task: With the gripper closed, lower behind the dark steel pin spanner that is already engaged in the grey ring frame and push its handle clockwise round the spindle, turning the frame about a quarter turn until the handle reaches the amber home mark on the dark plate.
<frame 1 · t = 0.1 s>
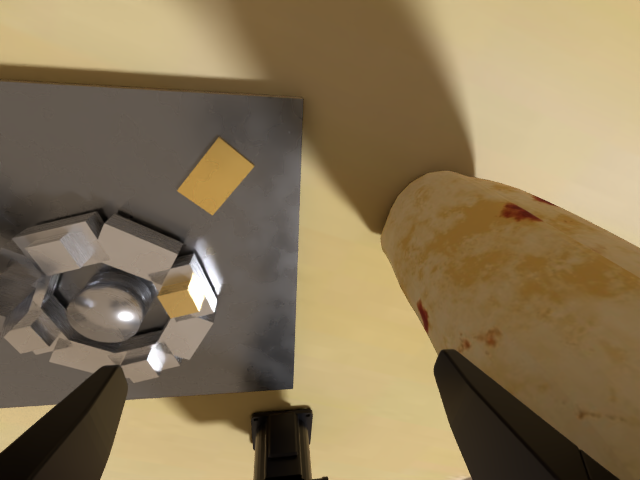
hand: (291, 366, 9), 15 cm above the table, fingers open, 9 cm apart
cap plate: (121, 276, 24), on the table
food model: (430, 205, 24), on the table
grey ring frame: (32, 301, 19), point 4 cm above the table, hinge at 0.0°
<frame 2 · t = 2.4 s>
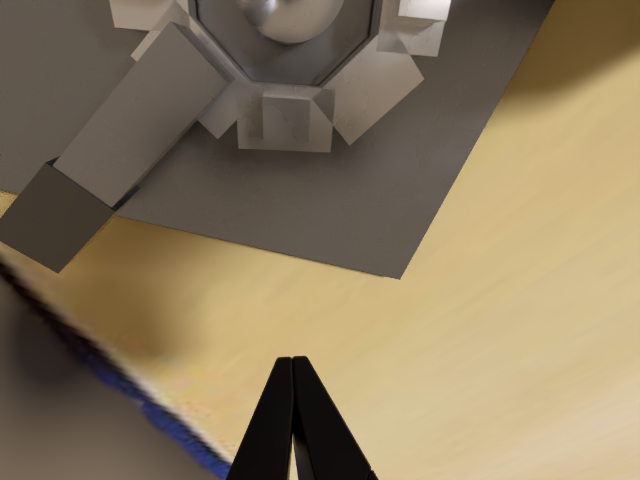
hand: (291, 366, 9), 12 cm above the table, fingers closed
grey ring frame: (214, 53, 12), point 4 cm above the table, hinge at 0.0°
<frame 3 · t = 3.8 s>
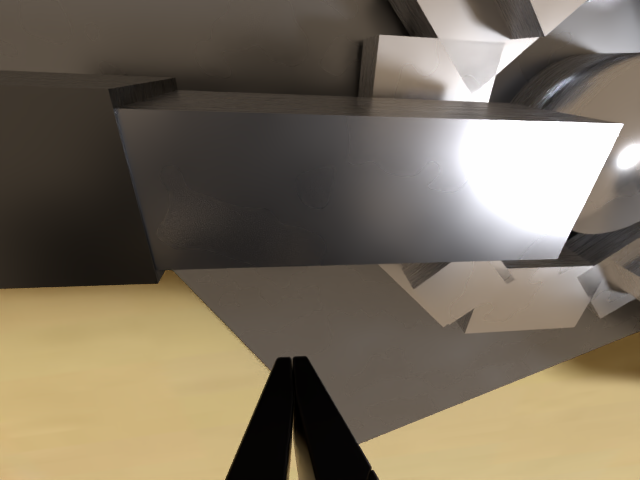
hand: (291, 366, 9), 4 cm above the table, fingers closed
cap plate: (533, 101, 10), on the table
grey ring frame: (495, 157, 7), point 4 cm above the table, hinge at 0.0°
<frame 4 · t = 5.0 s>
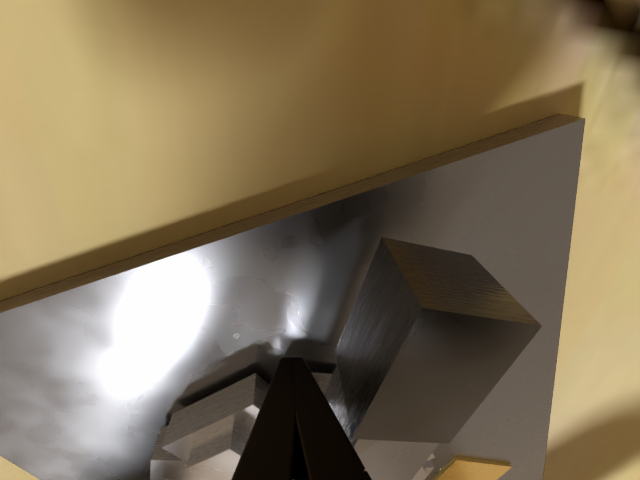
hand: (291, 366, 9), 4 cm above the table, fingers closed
cap plate: (310, 427, 18), on the table
grey ring frame: (319, 470, 13), point 4 cm above the table, hinge at 2.9°, touching gripper
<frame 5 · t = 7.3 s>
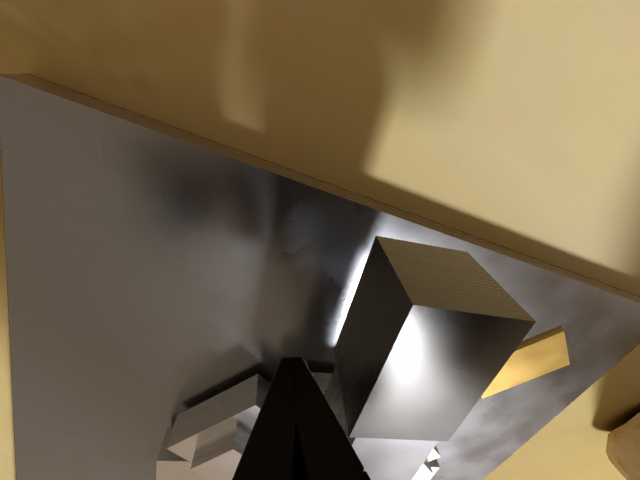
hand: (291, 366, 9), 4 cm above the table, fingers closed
cap plate: (305, 422, 17), on the table
grey ring frame: (323, 470, 13), point 4 cm above the table, hinge at 51.8°, touching gripper
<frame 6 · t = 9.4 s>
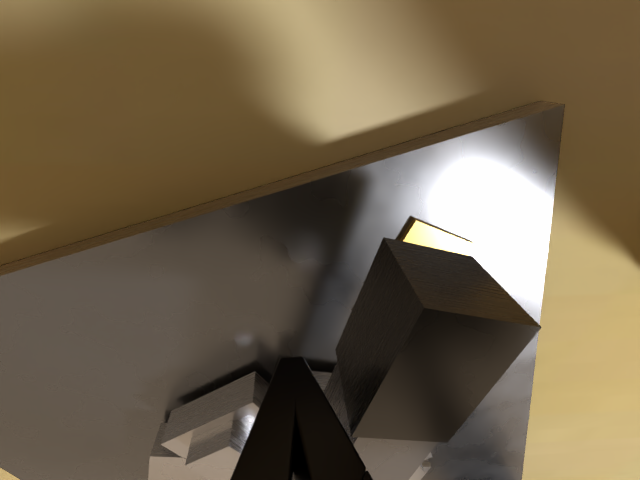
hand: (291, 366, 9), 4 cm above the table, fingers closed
cap plate: (286, 420, 17), on the table
grey ring frame: (317, 468, 13), point 4 cm above the table, hinge at 91.7°, touching gripper
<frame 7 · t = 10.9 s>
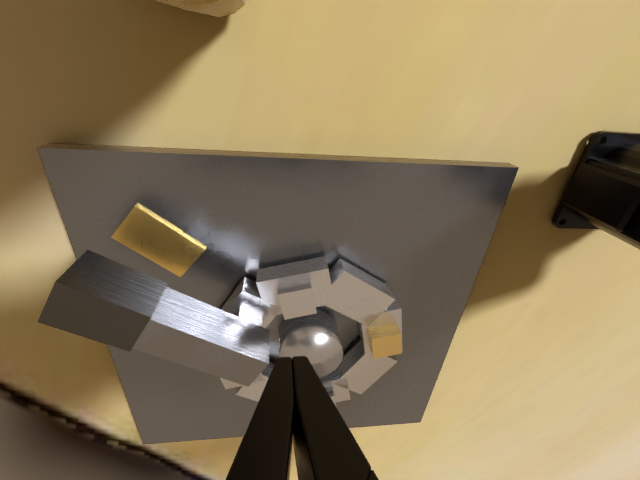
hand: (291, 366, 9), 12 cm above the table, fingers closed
cap plate: (294, 322, 24), on the table
grey ring frame: (260, 342, 20), point 4 cm above the table, hinge at 92.2°
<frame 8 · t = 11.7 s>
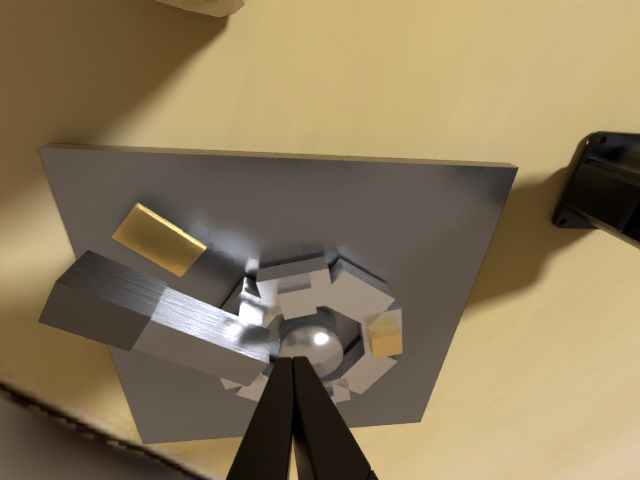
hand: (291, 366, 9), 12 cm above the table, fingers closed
cap plate: (294, 322, 24), on the table
grey ring frame: (261, 342, 20), point 4 cm above the table, hinge at 92.2°
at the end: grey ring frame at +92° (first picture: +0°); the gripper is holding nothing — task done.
